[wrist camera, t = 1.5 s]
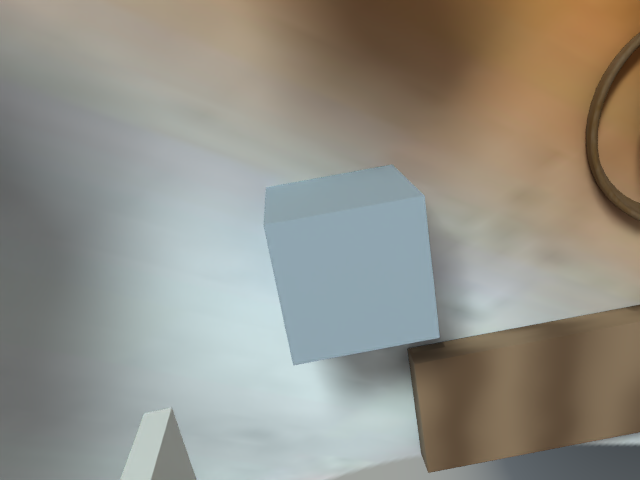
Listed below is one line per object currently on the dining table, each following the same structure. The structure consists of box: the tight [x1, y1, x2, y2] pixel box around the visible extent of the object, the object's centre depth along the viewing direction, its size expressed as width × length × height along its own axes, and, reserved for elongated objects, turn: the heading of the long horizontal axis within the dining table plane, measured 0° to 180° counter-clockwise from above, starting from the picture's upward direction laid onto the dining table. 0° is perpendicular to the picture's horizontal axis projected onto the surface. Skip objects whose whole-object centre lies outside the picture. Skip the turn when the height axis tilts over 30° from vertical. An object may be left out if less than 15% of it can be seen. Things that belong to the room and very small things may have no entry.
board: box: [408, 305, 640, 472], centre depth 35 cm, size 16×8×2 cm, turn 100°
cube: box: [264, 165, 440, 365], centre depth 28 cm, size 7×7×7 cm
